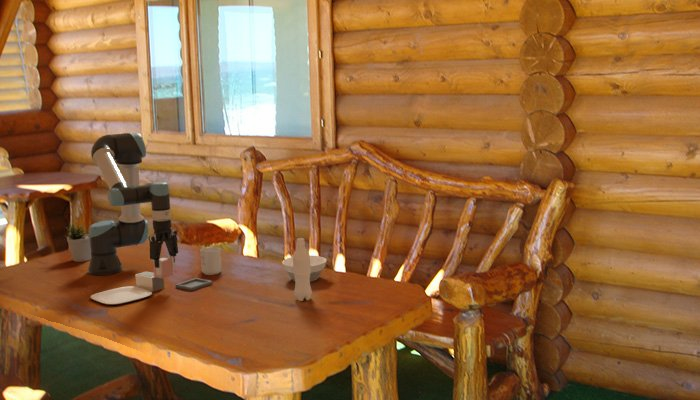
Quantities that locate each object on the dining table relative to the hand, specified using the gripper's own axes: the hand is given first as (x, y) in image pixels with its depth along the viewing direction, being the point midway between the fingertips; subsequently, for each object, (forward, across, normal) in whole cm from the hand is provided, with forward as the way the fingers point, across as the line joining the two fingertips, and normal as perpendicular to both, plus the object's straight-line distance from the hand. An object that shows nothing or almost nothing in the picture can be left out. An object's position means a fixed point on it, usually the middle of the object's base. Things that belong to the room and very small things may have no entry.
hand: (165, 272), depth 346 cm
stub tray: (+8, +12, -4) cm, 15 cm away
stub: (+2, 0, +2) cm, 2 cm away
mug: (+9, +32, +7) cm, 34 cm away
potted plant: (+10, +16, +82) cm, 84 cm away
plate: (+9, -16, +10) cm, 21 cm away
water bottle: (+8, +21, -58) cm, 62 cm away
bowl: (+8, +45, -39) cm, 60 cm away
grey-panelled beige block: (+8, 0, +11) cm, 14 cm away
